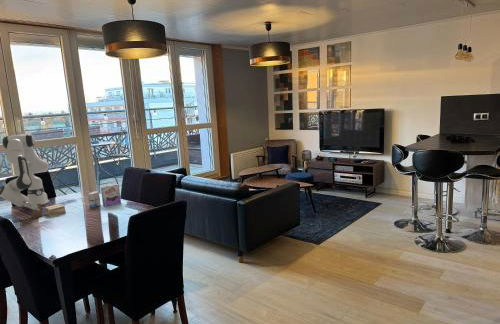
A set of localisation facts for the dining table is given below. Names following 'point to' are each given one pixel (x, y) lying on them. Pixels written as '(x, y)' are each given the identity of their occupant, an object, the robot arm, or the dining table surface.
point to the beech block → (55, 210)
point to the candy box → (110, 195)
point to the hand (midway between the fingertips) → (37, 209)
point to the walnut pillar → (37, 213)
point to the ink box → (94, 199)
